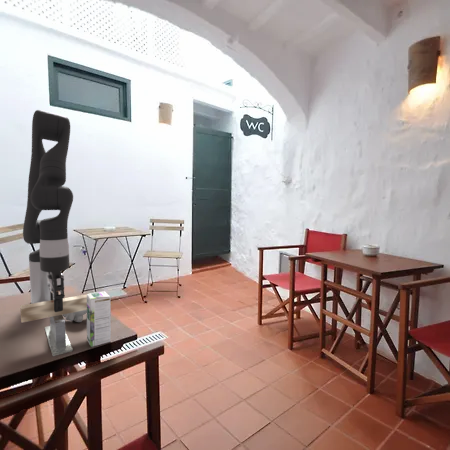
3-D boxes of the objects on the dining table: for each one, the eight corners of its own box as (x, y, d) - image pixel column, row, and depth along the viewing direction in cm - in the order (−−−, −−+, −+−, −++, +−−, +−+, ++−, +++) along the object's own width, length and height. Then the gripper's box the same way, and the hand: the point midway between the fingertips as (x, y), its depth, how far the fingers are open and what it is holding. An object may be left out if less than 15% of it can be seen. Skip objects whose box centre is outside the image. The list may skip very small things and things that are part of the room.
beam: (88, 306, 95) (87, 293, 95) (90, 309, 93) (90, 296, 92) (20, 319, 84) (20, 305, 84) (21, 322, 82) (20, 308, 82)
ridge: (44, 328, 96) (43, 305, 95) (61, 324, 99) (61, 301, 98) (52, 356, 80) (51, 328, 79) (72, 350, 83) (72, 323, 82)
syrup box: (86, 339, 89) (85, 293, 88) (106, 334, 93) (105, 290, 91) (90, 347, 85) (89, 299, 83) (111, 341, 88) (111, 295, 87)
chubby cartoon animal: (99, 326, 104) (108, 303, 105) (64, 322, 97) (74, 297, 98) (93, 319, 110) (102, 297, 111) (59, 314, 102) (69, 291, 103)
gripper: (73, 256, 83) (74, 311, 85) (65, 248, 94) (66, 297, 96) (42, 259, 79) (44, 317, 80) (37, 250, 90) (39, 301, 92)
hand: (56, 306), depth 88 cm, fingers open, 8 cm apart
